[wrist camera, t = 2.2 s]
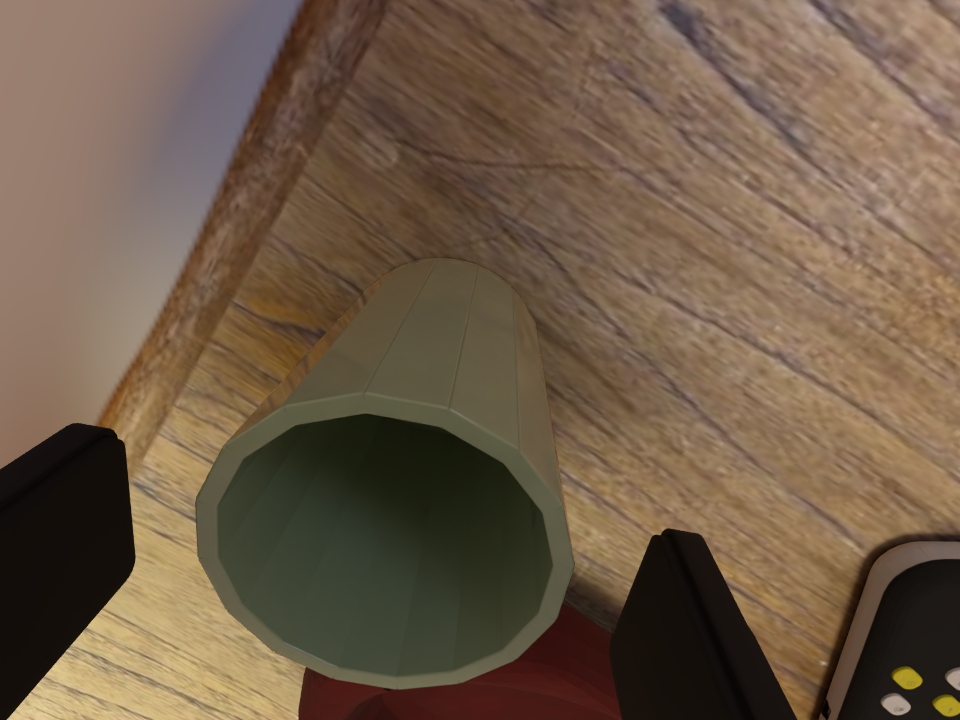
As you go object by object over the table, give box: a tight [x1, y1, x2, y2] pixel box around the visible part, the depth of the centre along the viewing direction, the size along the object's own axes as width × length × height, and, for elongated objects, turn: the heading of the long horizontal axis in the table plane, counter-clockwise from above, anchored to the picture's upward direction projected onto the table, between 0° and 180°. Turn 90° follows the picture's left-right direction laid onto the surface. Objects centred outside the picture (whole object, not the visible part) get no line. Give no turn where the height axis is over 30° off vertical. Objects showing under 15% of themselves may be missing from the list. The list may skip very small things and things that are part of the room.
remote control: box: [818, 541, 960, 720], centre depth 20 cm, size 6×13×2 cm, turn 2°
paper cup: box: [195, 258, 575, 690], centre depth 13 cm, size 6×6×9 cm
